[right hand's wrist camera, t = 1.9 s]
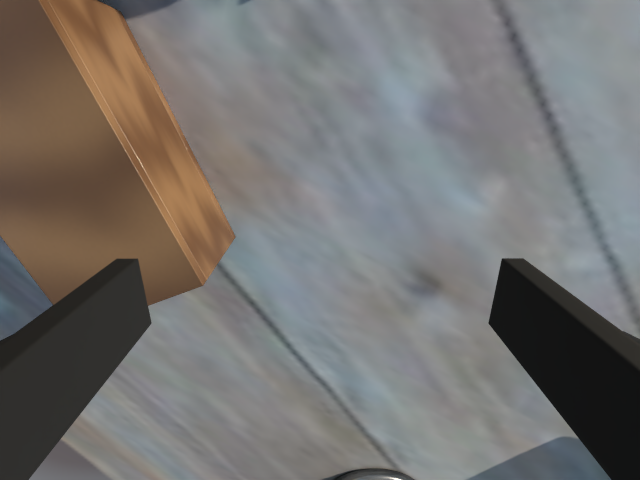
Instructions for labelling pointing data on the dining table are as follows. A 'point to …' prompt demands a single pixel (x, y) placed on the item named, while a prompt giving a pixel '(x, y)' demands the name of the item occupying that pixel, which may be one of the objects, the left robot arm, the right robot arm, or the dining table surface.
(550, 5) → the dining table surface
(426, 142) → the dining table surface
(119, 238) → the cabinet
